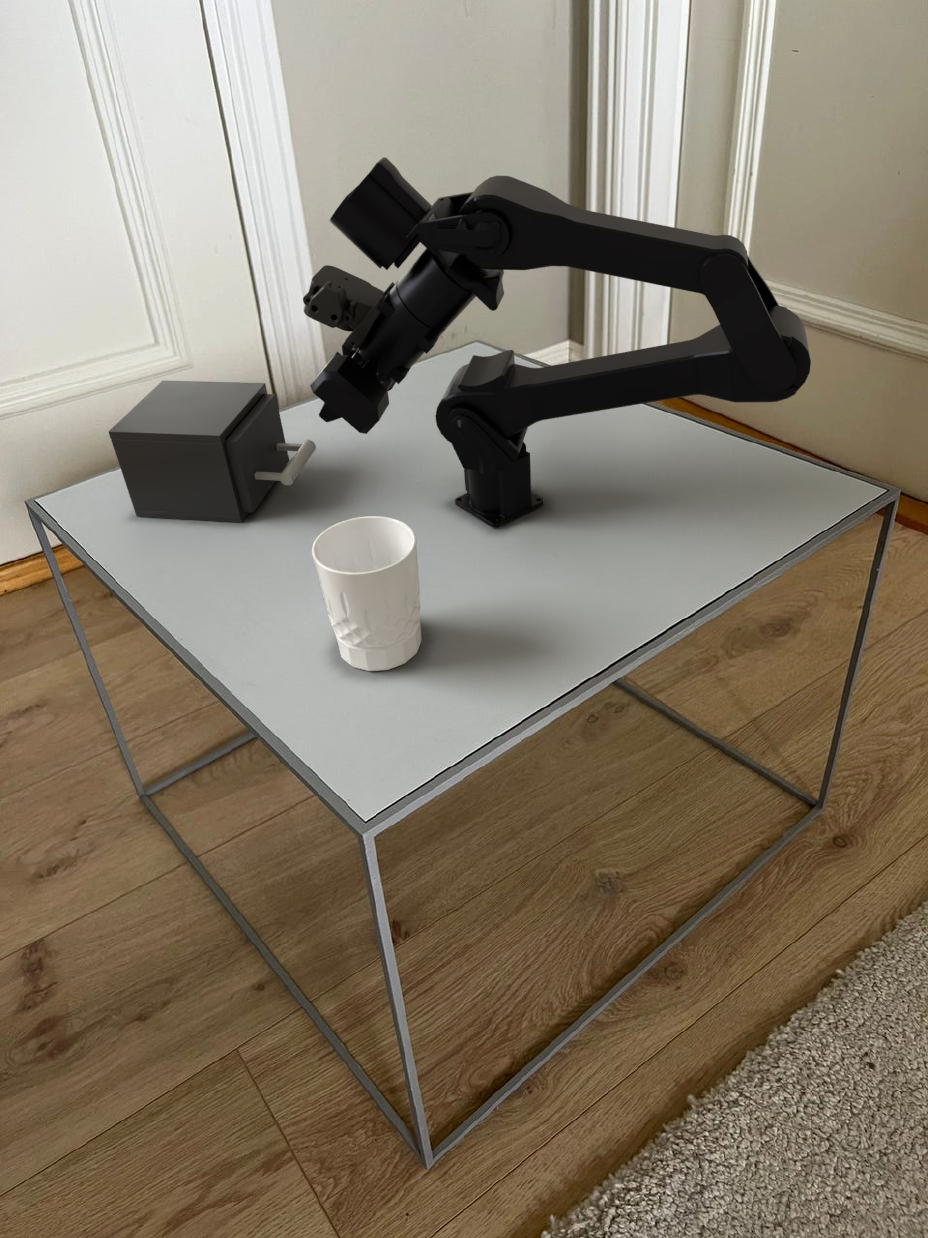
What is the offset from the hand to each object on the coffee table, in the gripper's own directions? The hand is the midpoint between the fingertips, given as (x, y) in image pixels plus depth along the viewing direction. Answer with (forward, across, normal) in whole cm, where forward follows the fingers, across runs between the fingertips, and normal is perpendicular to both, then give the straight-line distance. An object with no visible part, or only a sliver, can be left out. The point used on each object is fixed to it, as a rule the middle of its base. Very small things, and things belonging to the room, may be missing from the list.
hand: (323, 417), depth 91 cm
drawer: (+13, 0, -2) cm, 13 cm away
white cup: (-1, +22, +14) cm, 27 cm away
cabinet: (+16, 0, -4) cm, 16 cm away
